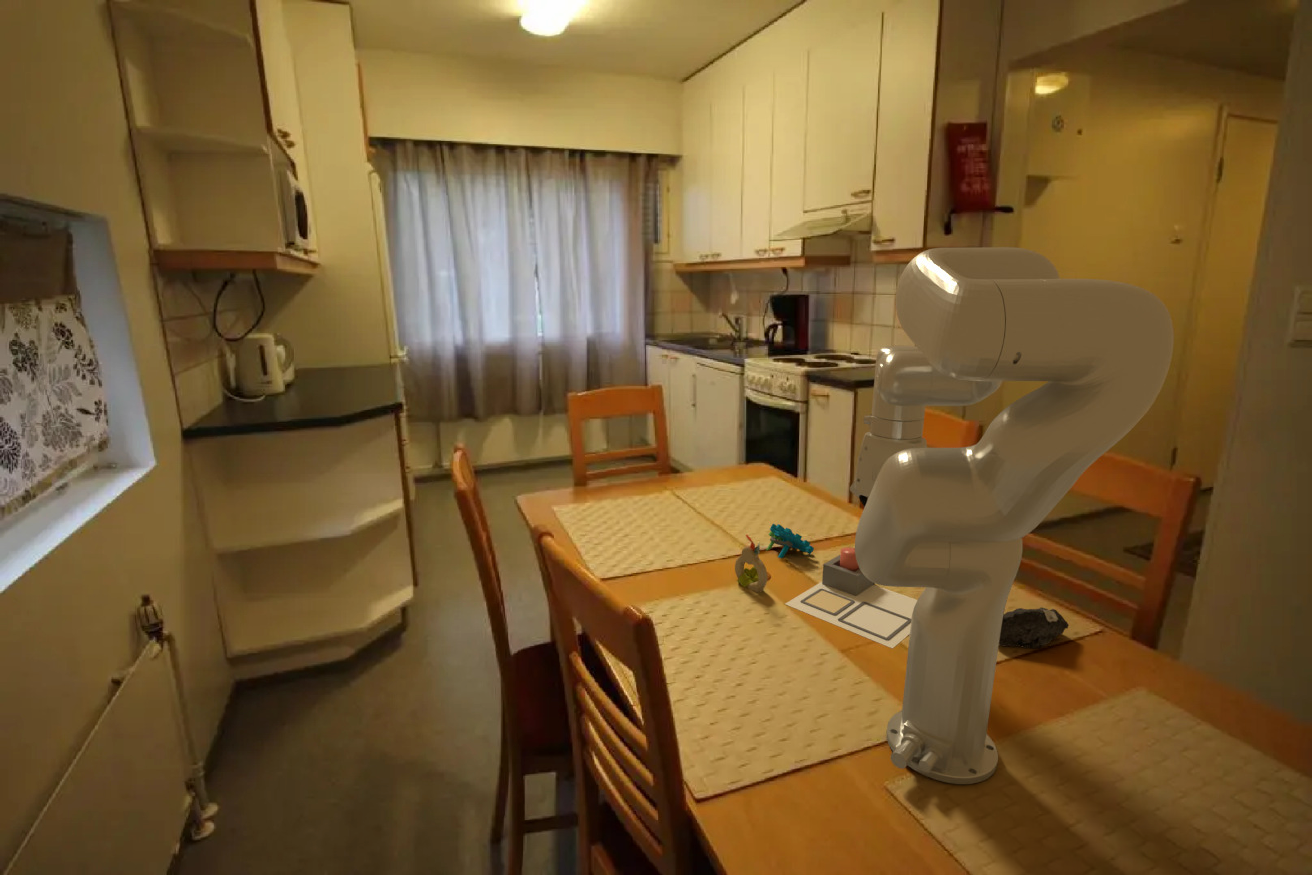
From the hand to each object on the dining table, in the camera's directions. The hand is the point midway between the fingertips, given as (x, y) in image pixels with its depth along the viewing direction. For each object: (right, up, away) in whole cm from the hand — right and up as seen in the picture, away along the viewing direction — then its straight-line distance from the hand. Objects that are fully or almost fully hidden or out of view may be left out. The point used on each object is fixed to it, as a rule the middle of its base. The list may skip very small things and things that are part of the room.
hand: (886, 538), depth 104 cm
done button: (-1, -10, +18) cm, 21 cm away
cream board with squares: (-1, -14, +11) cm, 18 cm away
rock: (+22, -17, +1) cm, 28 cm away
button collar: (-1, -11, +19) cm, 22 cm away
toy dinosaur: (-9, -9, +33) cm, 35 cm away
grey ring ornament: (-17, -12, +19) cm, 28 cm away
